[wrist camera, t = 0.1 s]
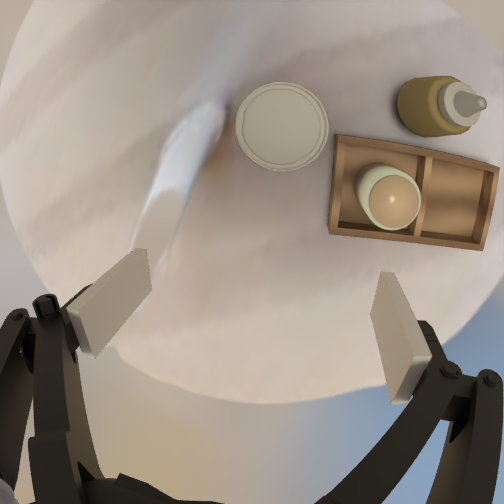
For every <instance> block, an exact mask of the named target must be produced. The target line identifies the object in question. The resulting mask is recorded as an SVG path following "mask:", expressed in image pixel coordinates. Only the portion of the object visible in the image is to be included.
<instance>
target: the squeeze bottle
mask: <svg viewBox="0 0 504 504" xmlns="http://www.w3.org/2000/svg"><path fill="white" fill-rule="evenodd" d="M397 106H398V112H399V115H400V117H401V119H402V120H403V122H404V124H405V126H407V127H408V128H409V129H410V130H411V131H412V132H413V133H415V134H417V135H420V136H422V137H438V136H447V135H457V134H462V133H464V132H465V131H467V130H469V128H470V127H471V126H472V125H474V124H475V123H476V122H477V120H478V119H479V117H480V112H481V111H482V110H484V109H485V108H486V106H487V103H486V100H485V99H484V98H483V97H481V96H478V95H477V94H476V92H475V91H474V90H473V89H472V88H471V87H470V86H469V85H467V84H465V83H463V82H461V81H459V80H458V79H456V78H454V77H452V76H434V77H423V78H414V79H412V80H410V81H408V82H406V83H405V84H404V85H403V87H402V88H401V89H400V91H399V95H398V100H397Z"/></svg>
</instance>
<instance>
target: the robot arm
mask: <svg viewBox="0 0 504 504" xmlns="http://www.w3.org/2000/svg"><path fill="white" fill-rule="evenodd" d="M151 291H152V286H151V279H150V272H149V265H148V256H147V249H141V248H135V249H134V250H133V251H131V252H130V253H129V254H128V255H126V256H125V257H124V258H123V259H122V260H120V261H119V262H118V263H117V264H116V265H114V266H113V267H112V268H111V269H110V270H108V271H107V272H106V273H105V274H104V275H103V276H101V277H100V278H99V279H98V280H97V281H96V282H94V283H93V284H90V285H88V286H86V287H84V288H83V289H82V290H81V291H80V292H78V294H76V295H75V296H74V298H72V299H70V300H69V301H68V302H67V303H66V304H65V305H64V306H63V307H61V308H60V307H59V304H58V300H57V297H56V296H55V295H54V294H45V295H42V296H39V297H38V298H36V299H35V300H34V301H33V303H32V304H33V307H34V310H35V313H36V316H37V318H33V317H30V316H29V314H28V311H27V310H26V309H24V308H20V309H16V310H13V311H12V312H11V313H9V315H8V316H7V318H6V319H5V321H4V323H3V325H2V327H1V328H0V504H19V503H18V501H17V500H16V499H15V498H14V493H13V492H14V489H15V485H16V482H17V478H18V472H19V465H20V458H21V452H22V446H23V440H24V434H25V429H26V424H27V420H28V415H29V411H30V407H31V403H32V399H33V406H34V429H35V436H34V437H30V438H29V439H28V451H29V461H30V470H31V477H32V483H33V490H34V496H35V501H36V502H33V503H30V504H223V503H218V502H213V501H183V500H176V499H173V498H172V497H170V496H168V495H166V494H164V493H163V492H161V491H159V490H158V489H156V488H154V487H153V486H151V485H149V484H148V483H145V482H142V481H140V480H137V479H134V478H132V477H129V476H126V475H124V474H121V473H120V474H119V476H118V477H117V479H114V478H104V476H103V474H102V472H101V470H100V468H99V465H98V461H97V458H96V454H95V450H94V446H93V442H92V438H91V434H90V429H89V424H88V420H87V415H86V410H85V404H84V399H83V393H82V386H81V380H80V373H79V365H78V356H77V353H76V351H75V350H76V349H77V348H78V347H79V346H80V348H81V351H82V354H83V355H85V356H88V357H91V358H93V359H95V358H96V357H97V356H98V355H99V353H100V352H101V351H102V350H103V348H104V347H105V346H106V345H107V343H108V342H109V341H110V340H111V339H112V337H113V336H114V335H115V334H116V332H117V331H118V330H119V329H120V328H121V326H122V325H123V324H124V323H125V321H126V320H127V319H128V318H129V317H130V315H131V314H132V313H133V312H134V311H135V310H136V308H137V307H138V306H139V305H140V304H141V302H142V301H143V300H144V299H145V298H146V297H147V295H148V294H149V293H150V292H151ZM370 315H371V319H372V323H373V327H374V331H375V335H376V339H377V343H378V347H379V351H380V355H381V360H382V364H383V368H384V373H385V378H386V382H387V387H388V392H389V397H390V403H391V404H407V403H408V401H409V399H410V397H411V396H412V395H413V398H412V400H411V401H410V402H409V404H408V405H407V406H406V408H405V409H404V410H403V412H402V413H401V415H400V416H399V417H398V418H397V420H396V421H395V422H394V423H393V425H392V426H391V427H390V428H389V430H388V431H387V432H386V433H385V435H384V436H383V437H382V438H381V439H380V440H379V442H378V443H377V444H376V445H375V446H374V447H373V449H372V450H371V451H370V452H369V453H368V454H367V455H366V456H365V457H364V459H363V460H362V461H361V462H360V463H359V464H358V465H357V466H356V467H355V468H354V469H353V470H352V471H351V472H350V473H349V474H348V475H347V476H346V477H345V478H344V479H343V480H342V481H341V482H340V483H339V484H338V485H337V486H336V487H335V488H334V489H333V490H332V491H331V492H329V493H328V494H327V495H325V496H323V497H322V498H321V499H319V500H318V501H317V502H316V503H315V504H381V503H382V502H383V501H384V500H385V498H386V497H387V496H388V495H389V494H390V493H391V491H392V490H393V489H394V488H395V486H396V485H397V484H398V482H399V481H400V480H401V478H402V477H403V476H404V474H405V473H406V472H407V470H408V469H409V468H410V466H411V465H412V463H413V462H414V460H415V459H416V458H417V456H418V455H419V453H420V452H421V450H422V449H423V447H424V445H425V444H426V442H427V441H428V439H429V438H430V436H431V434H432V433H433V431H434V429H435V428H436V426H437V424H438V422H439V421H440V419H442V420H447V421H450V423H449V427H448V432H447V436H446V440H445V444H444V448H443V452H442V456H441V459H440V463H439V466H438V470H437V473H436V476H435V479H434V482H433V485H432V488H431V491H430V494H429V496H428V499H427V502H426V504H492V501H493V496H494V491H495V486H496V480H497V474H498V467H499V459H500V451H501V440H502V426H503V382H502V379H501V377H500V376H499V375H498V374H497V373H496V372H494V371H492V370H489V369H484V370H482V371H480V372H479V374H478V375H477V377H473V376H468V375H464V374H462V372H461V369H460V368H459V367H458V365H456V364H455V363H453V362H451V361H448V360H447V358H446V356H445V353H444V351H443V349H442V347H441V345H440V342H438V341H439V340H438V338H437V336H436V334H435V332H434V330H433V328H432V327H431V326H430V325H429V324H428V323H427V322H426V321H421V320H416V317H415V315H414V313H413V311H412V309H411V307H410V304H409V302H408V300H407V298H406V296H405V294H404V292H403V290H402V288H401V286H400V284H399V282H398V280H397V278H396V276H395V274H394V273H392V272H381V273H380V277H379V281H378V286H377V290H376V294H375V298H374V302H373V306H372V309H371V313H370ZM20 351H21V353H20Z"/></svg>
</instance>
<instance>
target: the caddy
mask: <svg viewBox="0 0 504 504" xmlns="http://www.w3.org/2000/svg"><path fill="white" fill-rule="evenodd" d="M373 162H382V163H386V164H388V165H390V166H392V167H394V168H396V169H398V170H400V171H402V172H404V173H406V174H407V175H409V176H410V177H411V178H412V179H413V180H414V181H415V182H416V184H417V186H418V188H419V190H420V195H421V205H420V209H419V212H418V214H417V216H416V217H415V219H414V220H413V221H412V222H411V223H410V224H409V225H407V226H406V227H404V228H401V229H398V230H385V229H382V228H380V227H378V226H377V225H375V224H374V223H373V222H372V221H371V220H370V218H369V217H368V215H367V214H366V212H365V211H364V209H363V207H362V206H361V204H360V203H359V201H358V200H357V198H356V196H355V193H354V181H355V177H356V175H357V173H358V172H359V171H360V169H361V168H363V167H364V166H365V165H367V164H369V163H373ZM499 170H500V167H497V166H494V165H491V164H488V163H484V162H481V161H477V160H473V159H469V158H466V157H462V156H458V155H453V154H449V153H445V152H440V151H436V150H431V149H427V148H422V147H417V146H411V145H406V144H400V143H395V142H388V141H382V140H376V139H369V138H361V137H354V136H345V135H337V134H335V144H334V159H333V172H332V184H331V195H330V205H329V215H328V224H327V225H328V230H329V234H333V235H343V236H353V237H363V238H373V239H383V240H392V241H401V242H410V243H419V244H428V245H436V246H445V247H453V248H461V249H469V250H477V251H483V248H484V245H485V241H486V237H487V233H488V229H489V225H490V220H491V216H492V211H493V206H494V201H495V195H496V190H497V184H498V177H499Z"/></svg>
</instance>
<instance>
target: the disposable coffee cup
mask: <svg viewBox="0 0 504 504" xmlns="http://www.w3.org/2000/svg"><path fill="white" fill-rule="evenodd" d="M235 126H236V136H237V139H238V142H239V144H240V146H241V148H242V150H243V151H244V153H245V154H246V155H247V156H248V157H249V158H250V159H251V160H252V161H253V162H254V163H256V164H258V165H260V166H261V167H263V168H266V169H269V170H272V171H279V172H288V171H293V170H297V169H300V168H303V167H305V166H306V165H308V164H310V163H311V162H312V161H314V160H315V159H316V158H317V157H318V156H319V154H320V153H321V151H322V150H323V148H324V146H325V144H326V141H327V138H328V132H329V123H328V118H327V114H326V111H325V109H324V107H323V105H322V104H321V102H320V101H319V99H318V98H317V97H316V96H315V95H314V94H313V93H311V92H310V91H309V90H307V89H306V88H304V87H302V86H299V85H297V84H294V83H289V82H274V83H269V84H265V85H263V86H261V87H258V88H257V89H255V90H254V91H253V92H251V93H250V94H249V95H248V96H247V97H246V98H245V99H244V101H243V102H242V104H241V106H240V107H239V110H238V113H237V116H236V122H235Z"/></svg>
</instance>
